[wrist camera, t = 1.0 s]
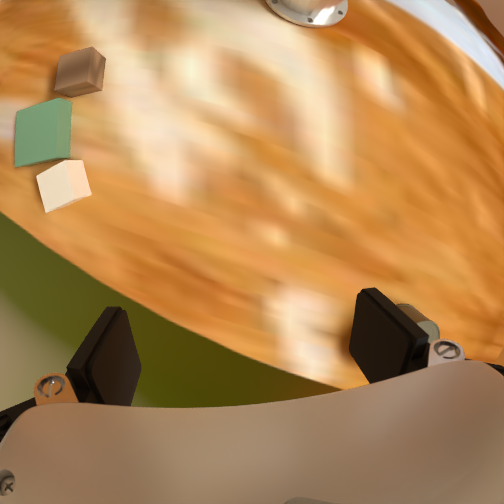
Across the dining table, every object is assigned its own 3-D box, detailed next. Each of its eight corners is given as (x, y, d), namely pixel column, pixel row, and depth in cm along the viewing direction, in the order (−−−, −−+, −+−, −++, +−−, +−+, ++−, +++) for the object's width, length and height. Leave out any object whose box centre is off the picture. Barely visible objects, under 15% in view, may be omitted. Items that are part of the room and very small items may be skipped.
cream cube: (55, 174, 31) (36, 176, 26) (82, 160, 31) (64, 160, 26) (64, 207, 32) (45, 213, 28) (91, 194, 33) (74, 199, 28)
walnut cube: (75, 66, 27) (59, 56, 22) (106, 58, 27) (92, 46, 22) (71, 97, 28) (54, 90, 23) (102, 90, 29) (87, 81, 24)
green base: (31, 114, 28) (16, 111, 24) (73, 102, 29) (59, 97, 25) (30, 166, 30) (14, 167, 26) (71, 157, 31) (56, 157, 27)
